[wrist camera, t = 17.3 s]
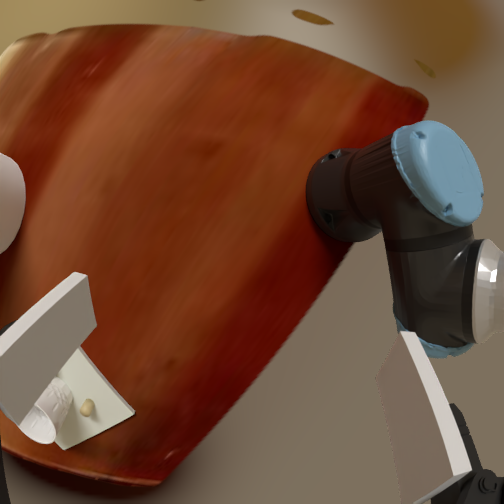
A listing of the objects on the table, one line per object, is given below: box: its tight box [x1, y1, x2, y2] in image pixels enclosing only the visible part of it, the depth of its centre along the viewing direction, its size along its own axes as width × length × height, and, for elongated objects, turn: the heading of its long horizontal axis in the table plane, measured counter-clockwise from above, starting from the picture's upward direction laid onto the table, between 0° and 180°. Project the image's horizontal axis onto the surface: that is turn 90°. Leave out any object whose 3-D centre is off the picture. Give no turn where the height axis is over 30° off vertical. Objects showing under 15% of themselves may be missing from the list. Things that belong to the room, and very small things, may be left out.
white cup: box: [17, 376, 73, 444], centre depth 29 cm, size 8×8×10 cm
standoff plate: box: [54, 346, 135, 450], centre depth 32 cm, size 20×20×4 cm
